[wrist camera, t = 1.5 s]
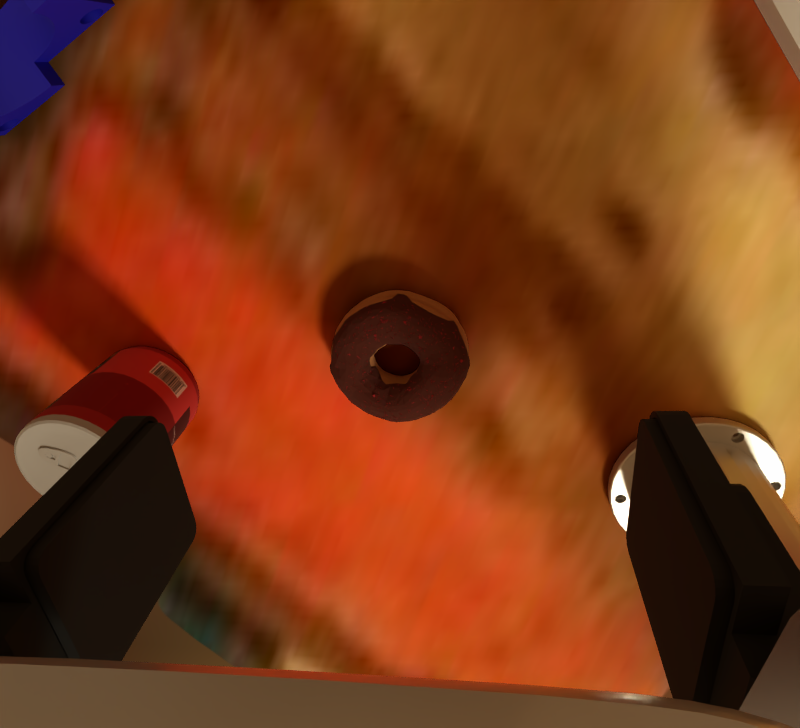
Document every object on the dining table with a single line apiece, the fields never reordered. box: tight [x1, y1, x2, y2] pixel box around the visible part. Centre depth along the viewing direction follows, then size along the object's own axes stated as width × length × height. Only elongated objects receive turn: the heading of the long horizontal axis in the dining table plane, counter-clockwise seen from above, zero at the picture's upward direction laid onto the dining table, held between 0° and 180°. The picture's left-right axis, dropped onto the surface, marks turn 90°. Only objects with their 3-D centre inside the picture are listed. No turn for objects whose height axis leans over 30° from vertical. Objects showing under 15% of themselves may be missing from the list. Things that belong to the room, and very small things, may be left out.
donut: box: [330, 290, 470, 422], centre depth 42 cm, size 10×10×4 cm
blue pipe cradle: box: [0, 0, 115, 136], centre depth 34 cm, size 12×4×6 cm, turn 121°
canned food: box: [14, 346, 199, 495], centre depth 42 cm, size 8×8×11 cm
